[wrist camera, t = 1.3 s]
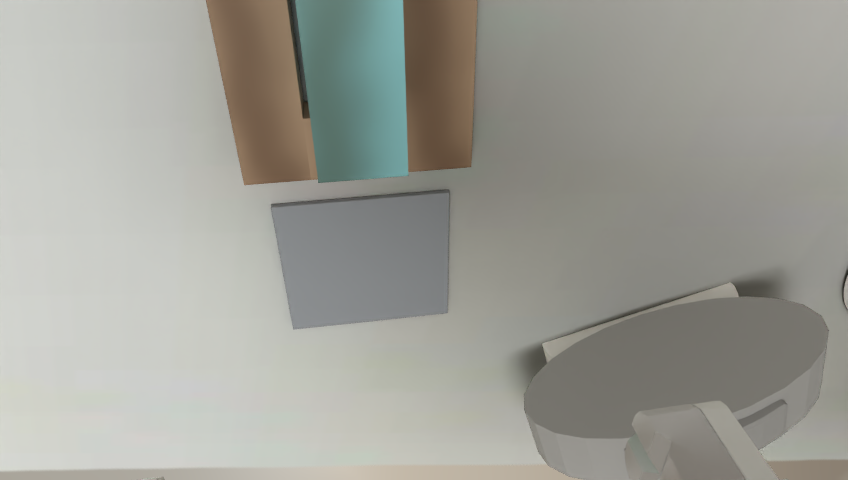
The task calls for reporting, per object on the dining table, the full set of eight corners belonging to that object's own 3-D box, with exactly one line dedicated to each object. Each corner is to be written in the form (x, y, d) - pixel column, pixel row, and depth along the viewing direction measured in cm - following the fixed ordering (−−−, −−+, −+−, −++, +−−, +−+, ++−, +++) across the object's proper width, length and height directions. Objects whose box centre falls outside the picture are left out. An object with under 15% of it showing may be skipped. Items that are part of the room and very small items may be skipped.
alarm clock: (518, 394, 56) (564, 526, 45) (503, 349, 52) (549, 483, 42) (766, 314, 54) (872, 432, 44) (769, 263, 51) (885, 379, 40)
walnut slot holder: (472, -180, 30) (483, -180, 28) (463, 149, 40) (471, 167, 38) (180, -176, 29) (169, -175, 27) (248, 165, 39) (244, 185, 37)
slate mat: (448, 189, 42) (449, 192, 42) (446, 309, 48) (447, 313, 48) (271, 204, 41) (270, 207, 40) (293, 325, 47) (293, 329, 47)
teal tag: (377, -65, 32) (402, -13, 23) (384, 80, 37) (408, 175, 27) (301, -62, 32) (293, -8, 22) (318, 85, 37) (318, 182, 27)
